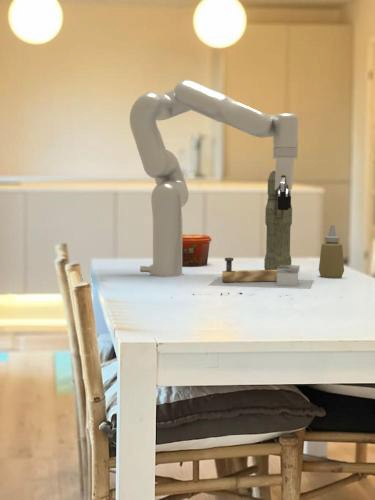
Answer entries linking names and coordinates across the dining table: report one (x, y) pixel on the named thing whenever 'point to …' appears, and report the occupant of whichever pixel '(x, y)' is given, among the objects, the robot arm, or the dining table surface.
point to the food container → (195, 250)
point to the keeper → (287, 275)
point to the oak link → (247, 274)
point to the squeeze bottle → (331, 256)
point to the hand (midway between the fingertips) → (284, 209)
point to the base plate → (262, 284)
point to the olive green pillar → (276, 229)
